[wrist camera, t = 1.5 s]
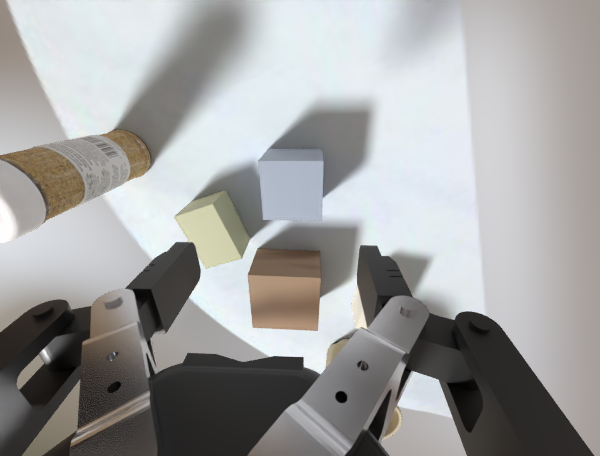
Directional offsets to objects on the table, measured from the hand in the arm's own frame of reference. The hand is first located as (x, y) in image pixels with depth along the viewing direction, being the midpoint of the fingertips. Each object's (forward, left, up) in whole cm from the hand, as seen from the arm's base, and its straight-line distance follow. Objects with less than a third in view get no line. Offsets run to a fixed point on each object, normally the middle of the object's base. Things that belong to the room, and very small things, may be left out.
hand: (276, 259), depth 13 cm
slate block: (0, 0, -15) cm, 15 cm away
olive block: (+5, -8, -15) cm, 17 cm away
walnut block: (+12, -1, -15) cm, 19 cm away
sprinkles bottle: (-2, -16, -15) cm, 22 cm away
